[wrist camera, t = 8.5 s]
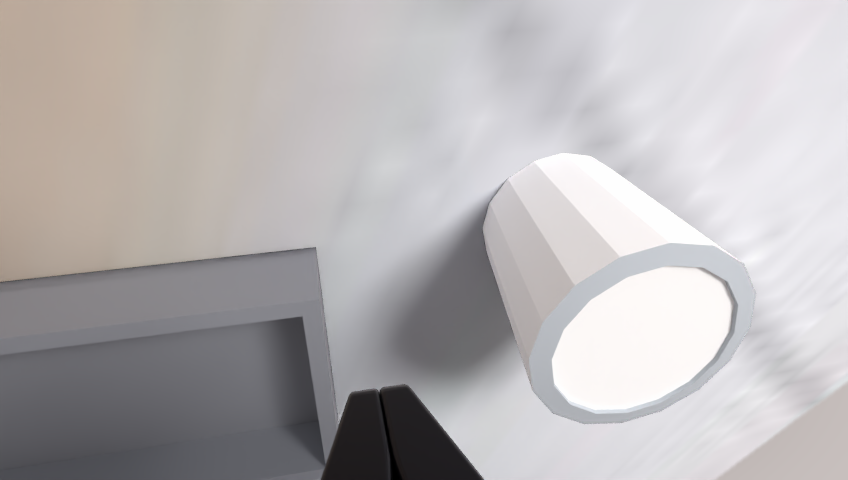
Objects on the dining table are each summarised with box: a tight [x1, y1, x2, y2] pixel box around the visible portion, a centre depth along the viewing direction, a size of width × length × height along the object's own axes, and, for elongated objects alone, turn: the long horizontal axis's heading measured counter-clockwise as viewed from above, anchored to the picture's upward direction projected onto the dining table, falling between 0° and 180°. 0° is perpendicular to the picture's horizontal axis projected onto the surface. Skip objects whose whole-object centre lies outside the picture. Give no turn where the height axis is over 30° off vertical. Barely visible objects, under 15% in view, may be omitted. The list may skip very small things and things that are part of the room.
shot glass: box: [482, 153, 756, 424], centre depth 20 cm, size 7×7×7 cm
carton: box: [0, 247, 338, 480], centre depth 21 cm, size 9×20×3 cm, turn 90°
